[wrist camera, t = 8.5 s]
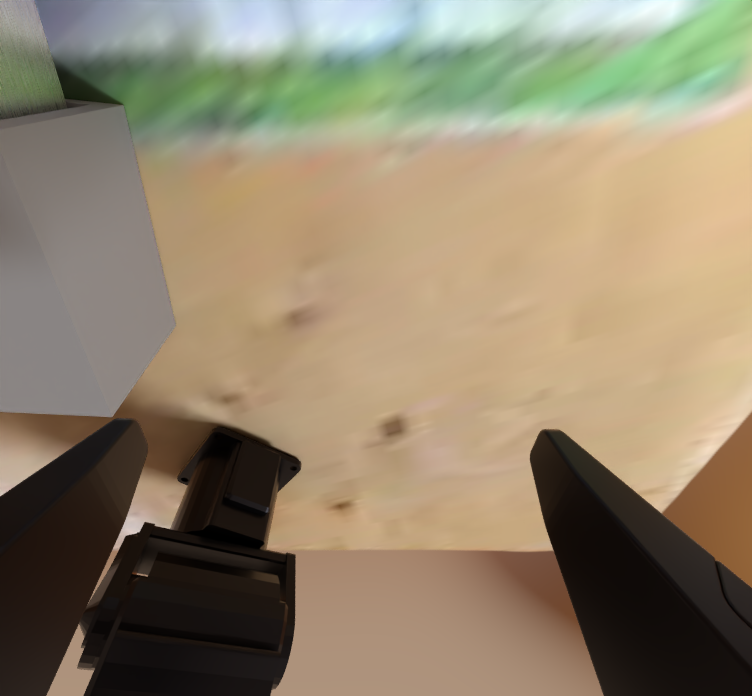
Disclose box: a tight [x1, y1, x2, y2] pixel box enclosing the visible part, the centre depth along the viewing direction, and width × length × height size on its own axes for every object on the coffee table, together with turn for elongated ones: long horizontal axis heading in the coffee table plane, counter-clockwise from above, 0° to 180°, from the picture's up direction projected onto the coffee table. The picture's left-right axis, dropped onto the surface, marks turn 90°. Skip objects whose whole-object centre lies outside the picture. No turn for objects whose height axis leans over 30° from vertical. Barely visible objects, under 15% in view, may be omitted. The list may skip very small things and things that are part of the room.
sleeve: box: [0, 99, 176, 417], centre depth 15 cm, size 10×7×7 cm, turn 174°
